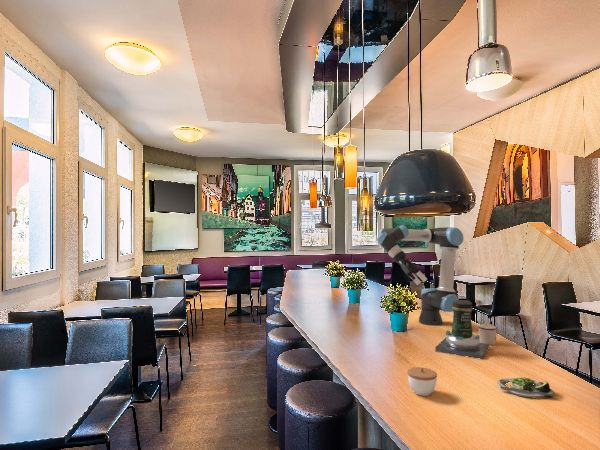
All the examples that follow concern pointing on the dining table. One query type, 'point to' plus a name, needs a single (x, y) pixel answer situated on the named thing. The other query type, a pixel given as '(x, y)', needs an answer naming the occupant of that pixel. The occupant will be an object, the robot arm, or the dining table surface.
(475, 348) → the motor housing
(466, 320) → the coffee jar
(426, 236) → the robot arm
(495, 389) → the dining table surface
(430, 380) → the lidded jar
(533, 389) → the salad plate
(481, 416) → the dining table surface
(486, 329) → the teacup with lid
